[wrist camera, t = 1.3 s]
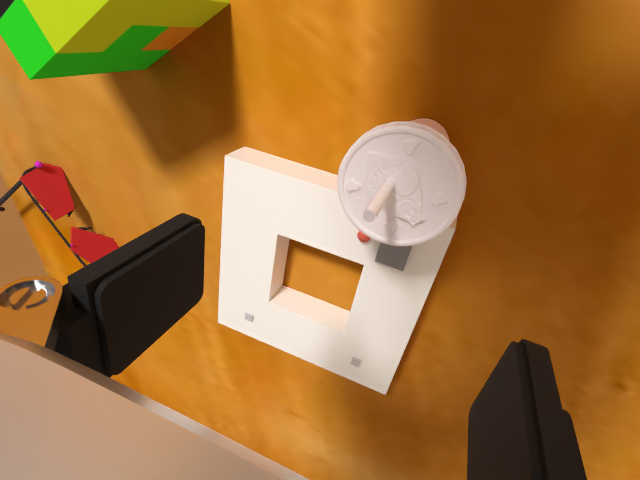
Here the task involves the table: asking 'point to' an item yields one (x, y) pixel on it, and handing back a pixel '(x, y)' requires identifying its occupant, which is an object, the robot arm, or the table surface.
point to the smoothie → (402, 182)
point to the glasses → (61, 209)
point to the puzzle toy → (97, 33)
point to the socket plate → (328, 235)
